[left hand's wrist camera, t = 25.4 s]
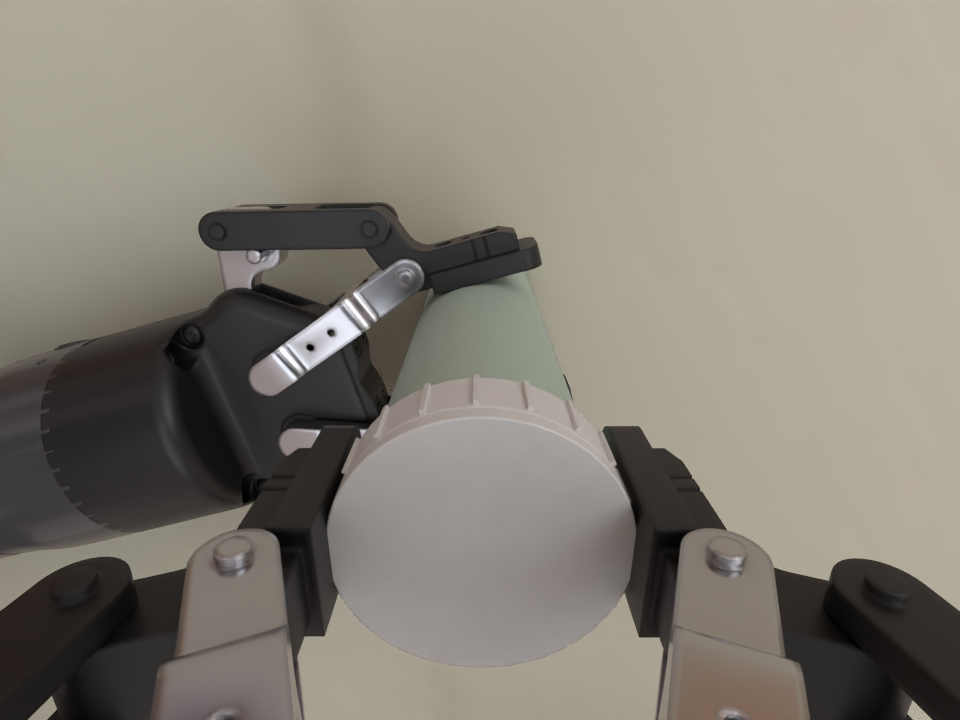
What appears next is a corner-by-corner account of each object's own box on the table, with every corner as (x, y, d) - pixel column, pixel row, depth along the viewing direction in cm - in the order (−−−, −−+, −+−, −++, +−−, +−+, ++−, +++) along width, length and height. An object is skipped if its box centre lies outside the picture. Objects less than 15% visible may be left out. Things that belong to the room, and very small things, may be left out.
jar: (518, 234, 25) (582, 381, 9) (540, 330, 27) (625, 592, 11) (418, 259, 25) (318, 442, 10) (446, 352, 27) (398, 636, 11)
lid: (641, 379, 10) (669, 420, 8) (601, 610, 12) (618, 676, 11) (337, 365, 10) (311, 404, 8) (348, 600, 12) (329, 665, 10)
